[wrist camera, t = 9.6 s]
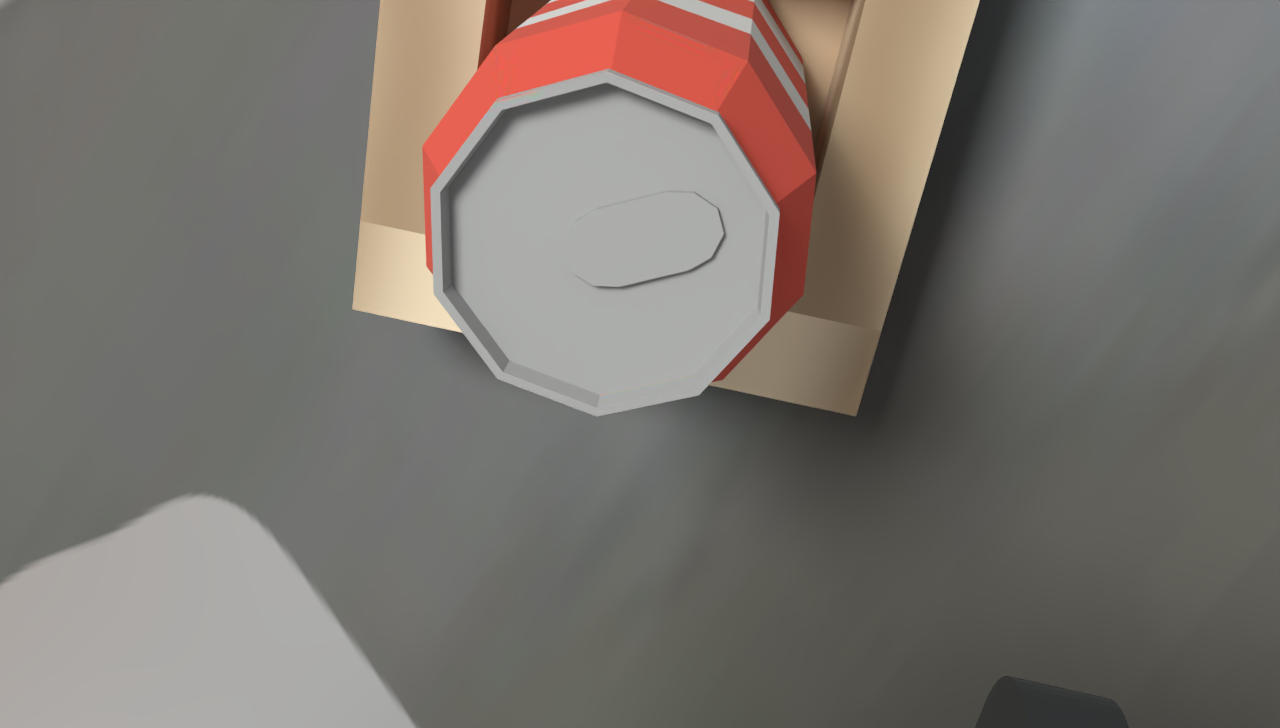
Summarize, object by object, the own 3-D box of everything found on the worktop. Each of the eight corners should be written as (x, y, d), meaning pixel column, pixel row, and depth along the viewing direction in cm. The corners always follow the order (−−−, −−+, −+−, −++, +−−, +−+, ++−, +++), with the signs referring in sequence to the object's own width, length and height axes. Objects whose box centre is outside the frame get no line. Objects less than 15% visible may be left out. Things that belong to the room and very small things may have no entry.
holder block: (985, -139, 26) (1019, -133, 23) (846, 347, 32) (855, 416, 28) (454, -249, 27) (403, -260, 23) (400, 253, 32) (352, 309, 28)
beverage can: (829, 177, 29) (863, 396, 18) (575, 238, 30) (463, 476, 19) (771, -84, 26) (770, -17, 16) (499, -7, 28) (323, 105, 17)
